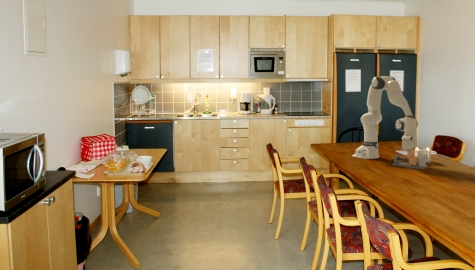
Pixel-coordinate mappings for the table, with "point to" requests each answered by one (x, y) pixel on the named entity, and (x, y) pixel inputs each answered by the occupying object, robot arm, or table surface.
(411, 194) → the table surface
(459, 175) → the table surface
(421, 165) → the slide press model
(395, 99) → the robot arm
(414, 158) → the orange piece
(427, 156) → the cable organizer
